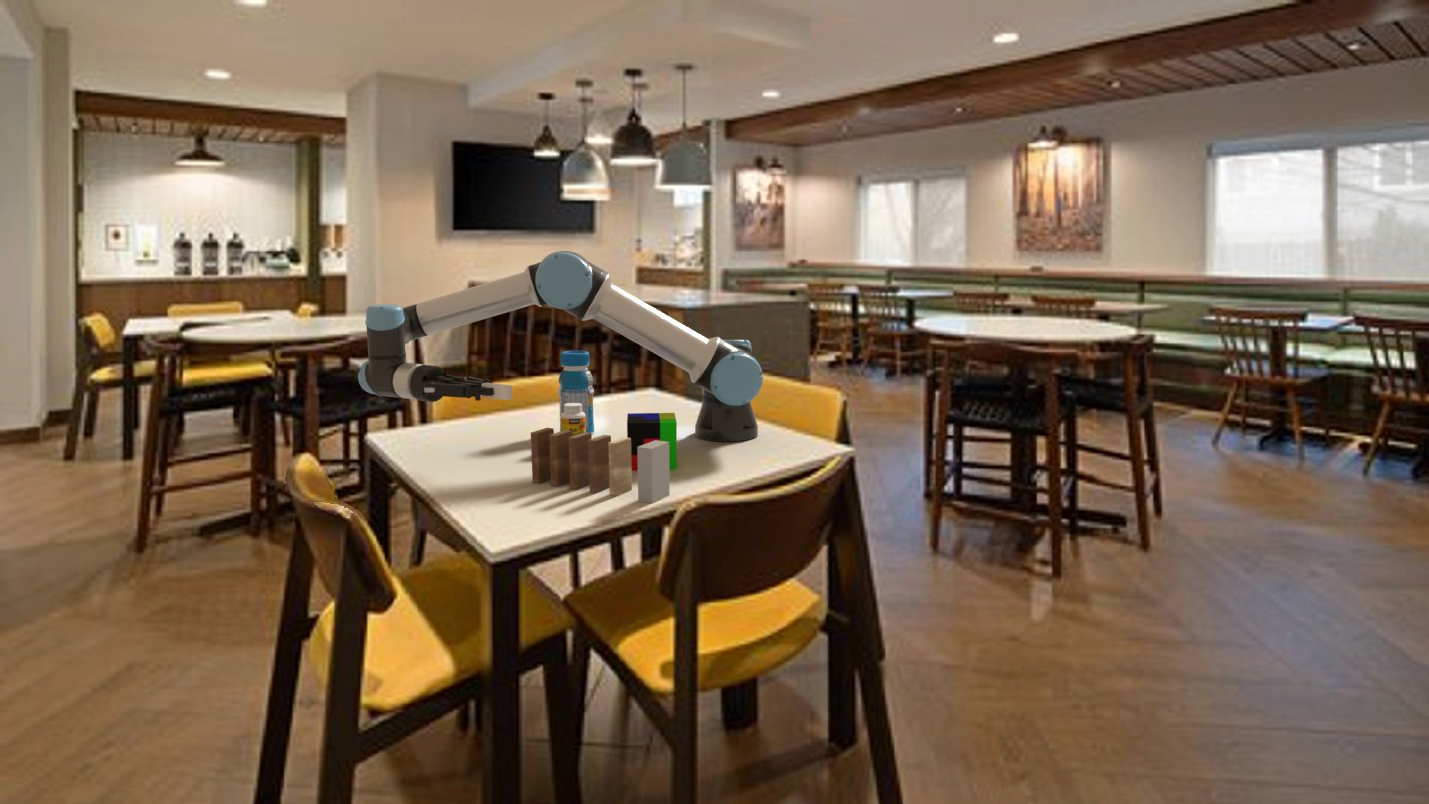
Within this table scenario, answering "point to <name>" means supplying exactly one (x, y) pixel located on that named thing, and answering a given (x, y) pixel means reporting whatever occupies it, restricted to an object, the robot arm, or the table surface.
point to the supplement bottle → (573, 418)
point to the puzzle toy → (652, 434)
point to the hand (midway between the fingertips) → (509, 392)
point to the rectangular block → (653, 471)
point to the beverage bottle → (577, 384)
